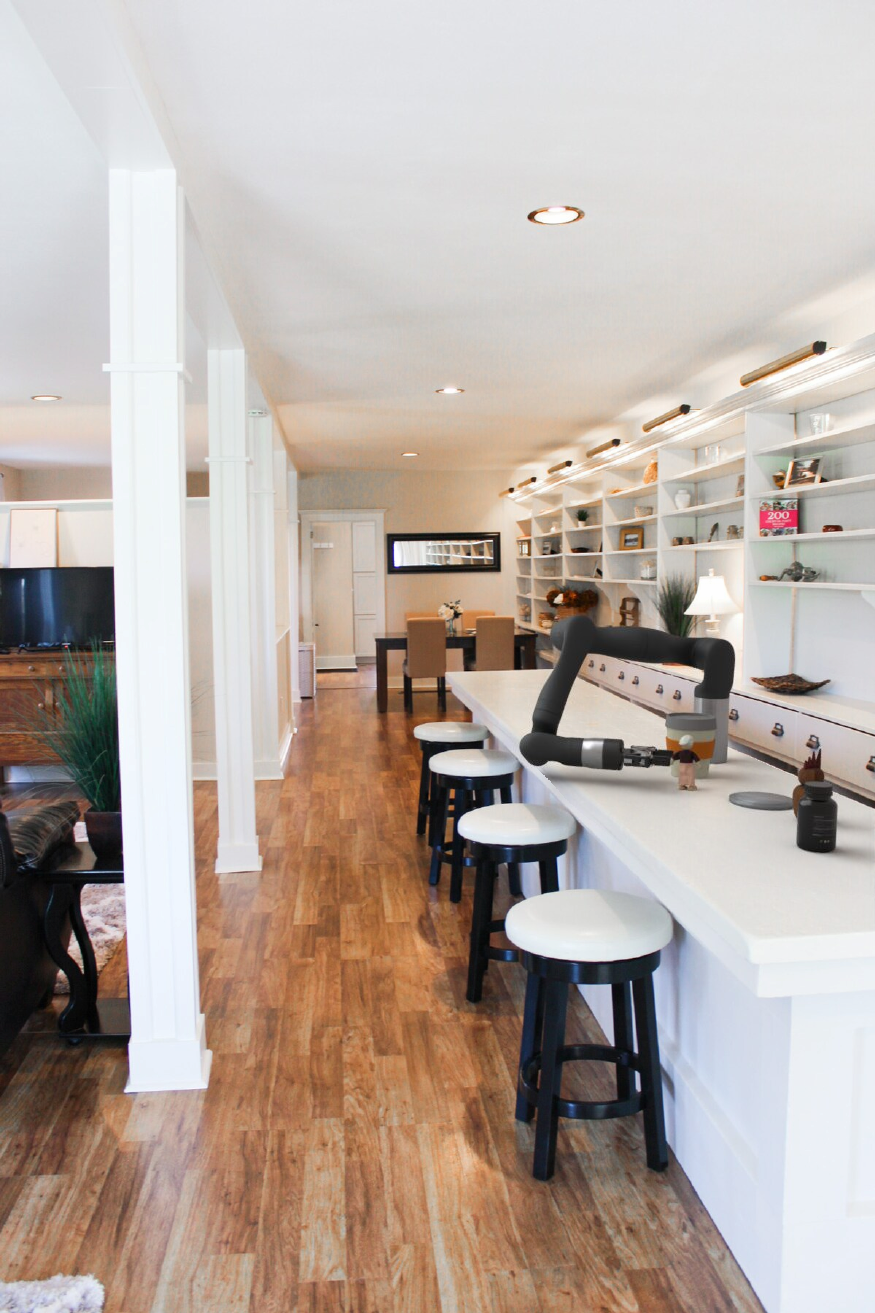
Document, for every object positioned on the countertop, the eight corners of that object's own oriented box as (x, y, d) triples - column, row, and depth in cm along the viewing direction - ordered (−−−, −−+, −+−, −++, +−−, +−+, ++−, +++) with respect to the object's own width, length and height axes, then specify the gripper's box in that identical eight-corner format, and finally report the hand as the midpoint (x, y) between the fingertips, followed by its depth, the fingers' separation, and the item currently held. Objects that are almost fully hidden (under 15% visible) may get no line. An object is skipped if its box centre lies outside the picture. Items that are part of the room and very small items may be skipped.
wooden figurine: (822, 818, 194) (825, 746, 193) (831, 826, 188) (834, 752, 187) (788, 817, 195) (791, 746, 193) (796, 824, 189) (799, 751, 188)
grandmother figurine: (702, 788, 221) (704, 734, 220) (701, 791, 217) (703, 737, 216) (668, 785, 224) (670, 732, 222) (667, 788, 220) (669, 735, 219)
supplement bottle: (789, 843, 176) (792, 780, 175) (824, 842, 176) (827, 779, 175) (806, 854, 169) (809, 788, 168) (843, 853, 169) (846, 788, 168)
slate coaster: (729, 792, 216) (729, 789, 216) (794, 798, 212) (794, 794, 212) (728, 806, 203) (728, 802, 203) (797, 812, 199) (797, 808, 199)
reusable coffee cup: (659, 777, 232) (661, 717, 231) (667, 768, 244) (669, 711, 242) (712, 782, 227) (714, 721, 226) (717, 772, 239) (719, 714, 238)
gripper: (598, 743, 219) (669, 747, 214) (607, 733, 232) (674, 737, 227) (597, 775, 220) (669, 780, 215) (606, 763, 233) (674, 768, 228)
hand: (671, 758), depth 221 cm, fingers open, 8 cm apart
